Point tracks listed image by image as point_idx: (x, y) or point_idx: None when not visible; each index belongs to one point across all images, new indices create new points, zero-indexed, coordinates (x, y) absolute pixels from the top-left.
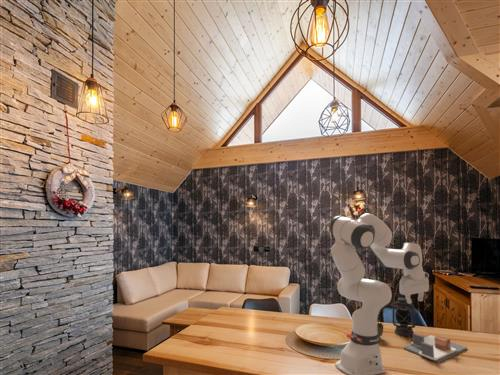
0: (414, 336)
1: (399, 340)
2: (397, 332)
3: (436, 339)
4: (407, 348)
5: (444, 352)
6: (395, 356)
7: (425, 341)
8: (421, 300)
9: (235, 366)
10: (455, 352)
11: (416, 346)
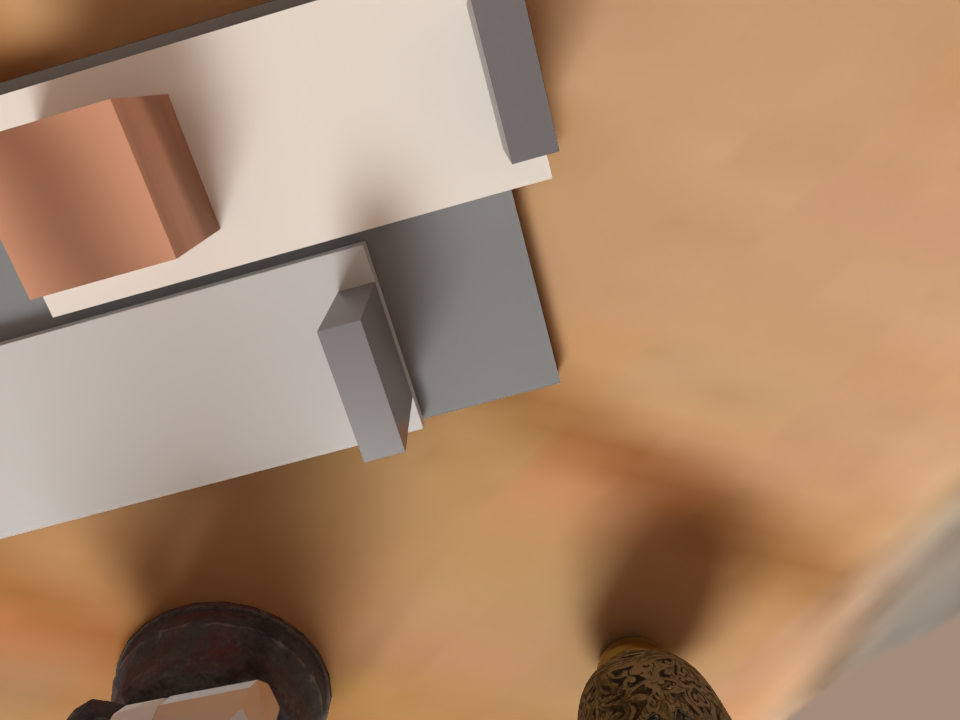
0: (399, 415)
1: (422, 567)
2: (320, 705)
3: (173, 227)
4: (549, 342)
5: (213, 72)
6: (810, 248)
7: (201, 409)
8: (226, 694)
9: None
10: (20, 81)
11: None
